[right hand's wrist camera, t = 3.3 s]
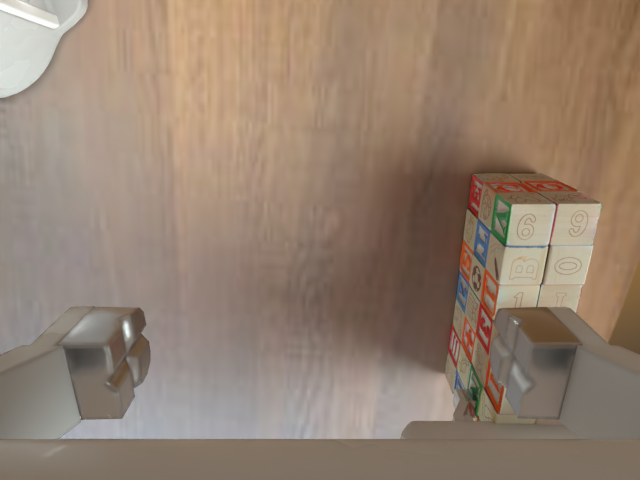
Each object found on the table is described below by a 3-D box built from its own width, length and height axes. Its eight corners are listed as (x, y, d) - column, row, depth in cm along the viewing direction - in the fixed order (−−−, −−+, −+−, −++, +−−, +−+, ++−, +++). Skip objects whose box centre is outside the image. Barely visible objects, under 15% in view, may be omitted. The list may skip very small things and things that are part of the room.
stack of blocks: (469, 171, 38) (532, 216, 27) (542, 171, 38) (636, 216, 27) (444, 375, 46) (484, 478, 34) (504, 375, 46) (565, 478, 34)
